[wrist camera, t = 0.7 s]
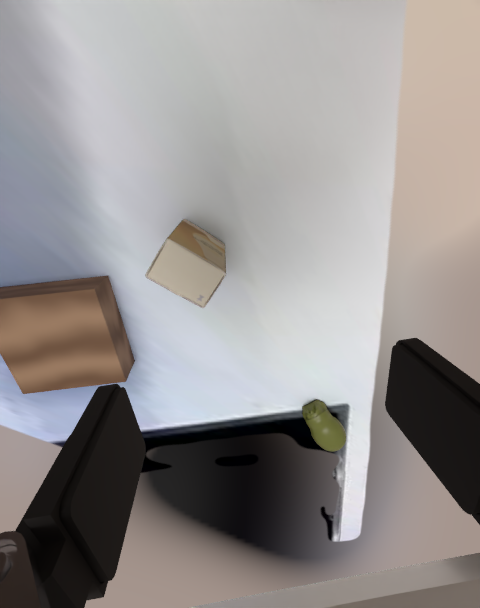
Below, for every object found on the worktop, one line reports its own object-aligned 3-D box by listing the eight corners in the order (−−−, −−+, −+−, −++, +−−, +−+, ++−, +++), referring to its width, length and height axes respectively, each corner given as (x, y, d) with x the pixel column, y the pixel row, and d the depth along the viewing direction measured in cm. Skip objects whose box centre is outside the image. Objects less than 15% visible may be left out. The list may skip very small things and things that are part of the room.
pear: (327, 462, 48) (298, 423, 46) (319, 439, 54) (293, 403, 51) (356, 448, 47) (327, 408, 45) (345, 426, 52) (319, 389, 50)
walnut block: (1, 286, 36) (-29, 302, 32) (109, 274, 37) (94, 288, 32) (43, 370, 42) (23, 393, 38) (135, 359, 43) (125, 381, 38)
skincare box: (225, 243, 36) (231, 274, 25) (208, 270, 37) (206, 311, 26) (181, 215, 34) (166, 236, 23) (165, 245, 35) (143, 278, 24)
